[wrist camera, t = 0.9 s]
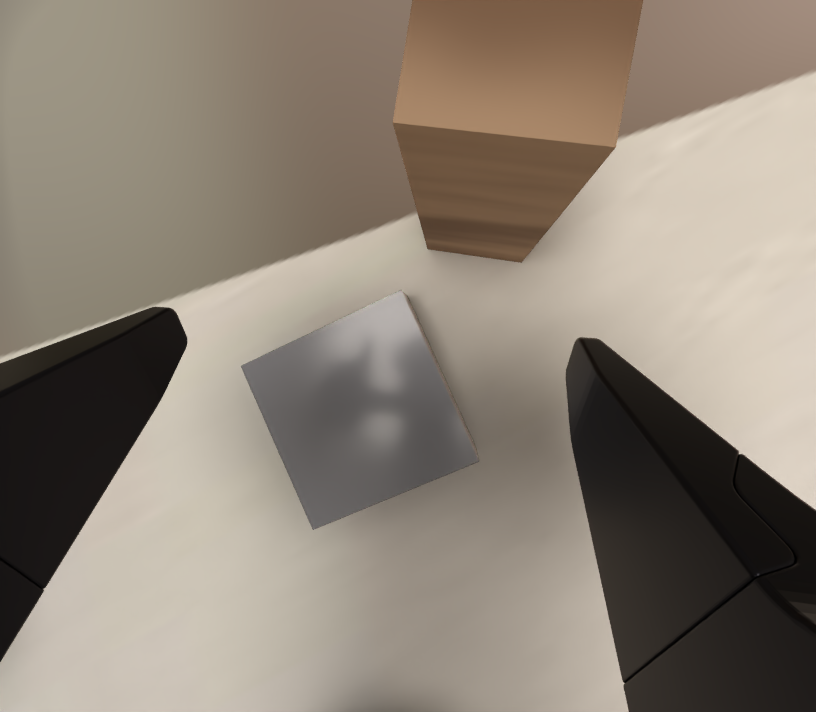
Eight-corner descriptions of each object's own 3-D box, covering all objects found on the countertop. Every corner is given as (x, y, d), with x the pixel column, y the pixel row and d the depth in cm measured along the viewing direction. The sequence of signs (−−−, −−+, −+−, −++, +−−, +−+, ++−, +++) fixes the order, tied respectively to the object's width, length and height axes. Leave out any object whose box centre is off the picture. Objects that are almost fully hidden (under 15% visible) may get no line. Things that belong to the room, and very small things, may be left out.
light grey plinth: (476, 448, 22) (479, 461, 19) (328, 509, 23) (312, 529, 20) (407, 296, 22) (401, 289, 20) (263, 363, 23) (240, 365, 21)
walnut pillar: (521, 262, 21) (615, 147, 9) (427, 249, 22) (392, 122, 9) (538, 166, 21) (659, -89, 9) (443, 155, 22) (428, -101, 9)
